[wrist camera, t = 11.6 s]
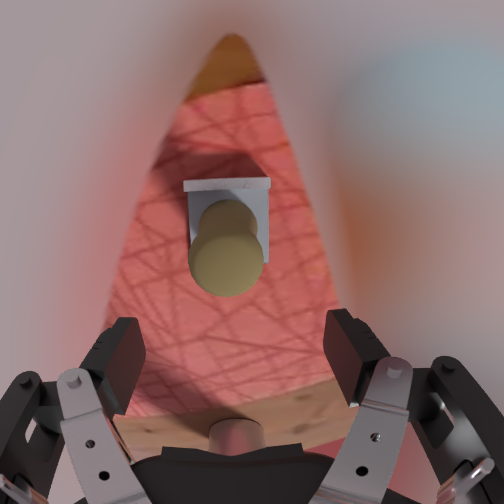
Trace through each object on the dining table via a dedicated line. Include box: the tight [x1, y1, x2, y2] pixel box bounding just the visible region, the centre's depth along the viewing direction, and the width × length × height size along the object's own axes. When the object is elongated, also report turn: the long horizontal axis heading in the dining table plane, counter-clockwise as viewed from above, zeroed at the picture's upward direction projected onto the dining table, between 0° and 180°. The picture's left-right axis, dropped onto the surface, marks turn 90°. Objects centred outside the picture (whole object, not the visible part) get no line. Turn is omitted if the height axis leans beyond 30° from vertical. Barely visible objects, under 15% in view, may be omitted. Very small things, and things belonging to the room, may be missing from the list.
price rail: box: [183, 176, 271, 192], centre depth 26 cm, size 1×8×2 cm, turn 91°
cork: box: [188, 199, 264, 297], centre depth 22 cm, size 6×6×11 cm
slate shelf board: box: [187, 188, 269, 263], centre depth 28 cm, size 8×8×1 cm
